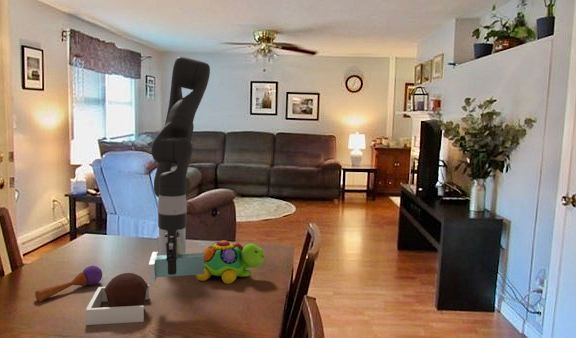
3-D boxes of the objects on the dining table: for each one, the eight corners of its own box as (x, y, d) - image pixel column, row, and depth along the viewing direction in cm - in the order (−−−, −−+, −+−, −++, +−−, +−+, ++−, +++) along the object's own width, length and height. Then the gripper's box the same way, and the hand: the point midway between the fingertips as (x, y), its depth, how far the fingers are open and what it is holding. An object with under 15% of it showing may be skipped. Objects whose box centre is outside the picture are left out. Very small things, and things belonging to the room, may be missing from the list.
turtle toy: (257, 288, 148) (257, 251, 146) (187, 281, 152) (187, 246, 151) (270, 271, 164) (270, 238, 163) (207, 265, 169) (207, 233, 167)
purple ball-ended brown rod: (30, 285, 135) (92, 262, 151) (35, 306, 135) (96, 280, 152) (41, 286, 131) (104, 263, 148) (46, 307, 132) (107, 281, 148)
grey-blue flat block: (204, 265, 137) (203, 248, 137) (204, 278, 126) (204, 260, 126) (153, 268, 135) (152, 251, 134) (149, 282, 124) (148, 264, 123)
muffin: (113, 302, 134) (112, 268, 133) (152, 302, 135) (152, 268, 134) (98, 320, 122) (97, 282, 121) (141, 320, 123) (140, 283, 122)
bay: (149, 297, 138) (149, 284, 137) (143, 321, 122) (143, 306, 122) (98, 300, 135) (98, 287, 135) (86, 325, 119) (85, 309, 119)
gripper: (185, 216, 122) (185, 280, 124) (187, 205, 136) (186, 263, 138) (155, 216, 120) (156, 281, 123) (160, 205, 134) (160, 263, 136)
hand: (172, 271), depth 130 cm, fingers closed on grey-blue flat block, 3 cm apart
